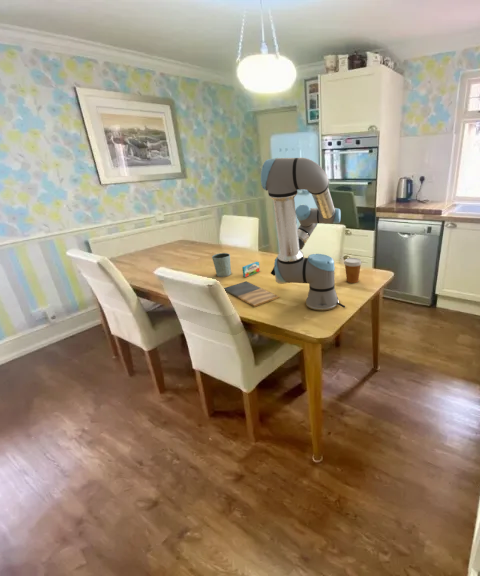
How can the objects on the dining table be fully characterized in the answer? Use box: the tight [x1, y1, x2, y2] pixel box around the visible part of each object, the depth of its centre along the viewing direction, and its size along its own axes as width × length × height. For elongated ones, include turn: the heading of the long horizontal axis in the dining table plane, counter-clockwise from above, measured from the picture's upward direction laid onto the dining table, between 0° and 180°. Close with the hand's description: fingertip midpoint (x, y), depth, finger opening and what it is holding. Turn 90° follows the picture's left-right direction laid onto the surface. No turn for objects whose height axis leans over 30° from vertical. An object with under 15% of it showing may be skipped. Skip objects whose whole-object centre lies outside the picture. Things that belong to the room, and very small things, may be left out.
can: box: [273, 264, 288, 285], centre depth 167 cm, size 8×8×12 cm
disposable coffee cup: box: [343, 257, 362, 284], centre depth 174 cm, size 10×10×12 cm
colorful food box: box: [241, 261, 261, 278], centre depth 190 cm, size 12×2×6 cm, turn 145°
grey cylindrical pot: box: [211, 252, 232, 278], centre depth 189 cm, size 10×10×12 cm
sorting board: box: [223, 280, 279, 308], centre depth 163 cm, size 30×14×1 cm, turn 44°
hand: (277, 276), depth 165 cm, fingers closed on can, 7 cm apart
